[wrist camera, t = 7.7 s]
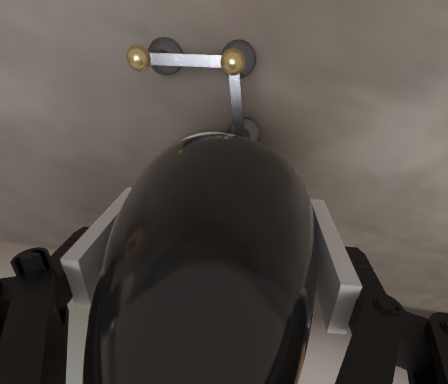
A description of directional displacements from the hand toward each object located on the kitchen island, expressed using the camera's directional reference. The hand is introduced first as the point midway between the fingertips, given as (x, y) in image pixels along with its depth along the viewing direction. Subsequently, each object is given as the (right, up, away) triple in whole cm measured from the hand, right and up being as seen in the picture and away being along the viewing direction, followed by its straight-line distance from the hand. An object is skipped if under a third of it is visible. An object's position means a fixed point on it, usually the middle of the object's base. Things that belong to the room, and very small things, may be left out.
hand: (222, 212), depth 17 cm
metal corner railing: (-2, +11, +11) cm, 16 cm away
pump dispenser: (0, +1, +3) cm, 3 cm away
